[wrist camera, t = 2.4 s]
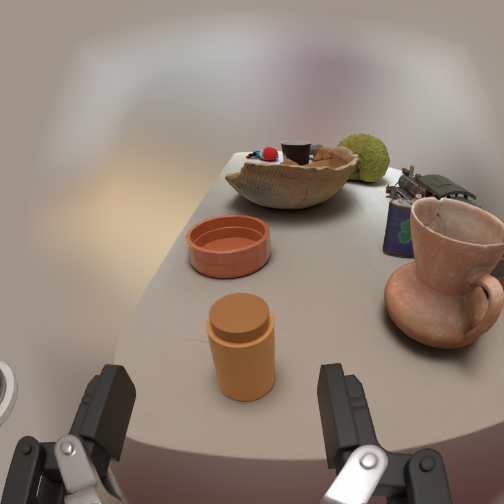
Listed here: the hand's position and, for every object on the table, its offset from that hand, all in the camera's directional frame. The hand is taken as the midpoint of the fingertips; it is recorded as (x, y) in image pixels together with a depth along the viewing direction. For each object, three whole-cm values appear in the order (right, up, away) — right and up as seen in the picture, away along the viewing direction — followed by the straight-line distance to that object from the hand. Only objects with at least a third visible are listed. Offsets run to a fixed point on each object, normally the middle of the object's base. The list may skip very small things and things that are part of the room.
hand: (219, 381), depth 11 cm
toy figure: (+6, +39, +97) cm, 104 cm away
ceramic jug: (+24, -4, +21) cm, 33 cm away
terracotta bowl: (-2, +4, +38) cm, 38 cm away
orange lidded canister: (+1, -8, +17) cm, 19 cm away
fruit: (+33, +26, +71) cm, 83 cm away
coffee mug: (+15, +29, +78) cm, 85 cm away
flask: (+28, +5, +36) cm, 45 cm away
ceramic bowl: (+11, +16, +58) cm, 61 cm away
